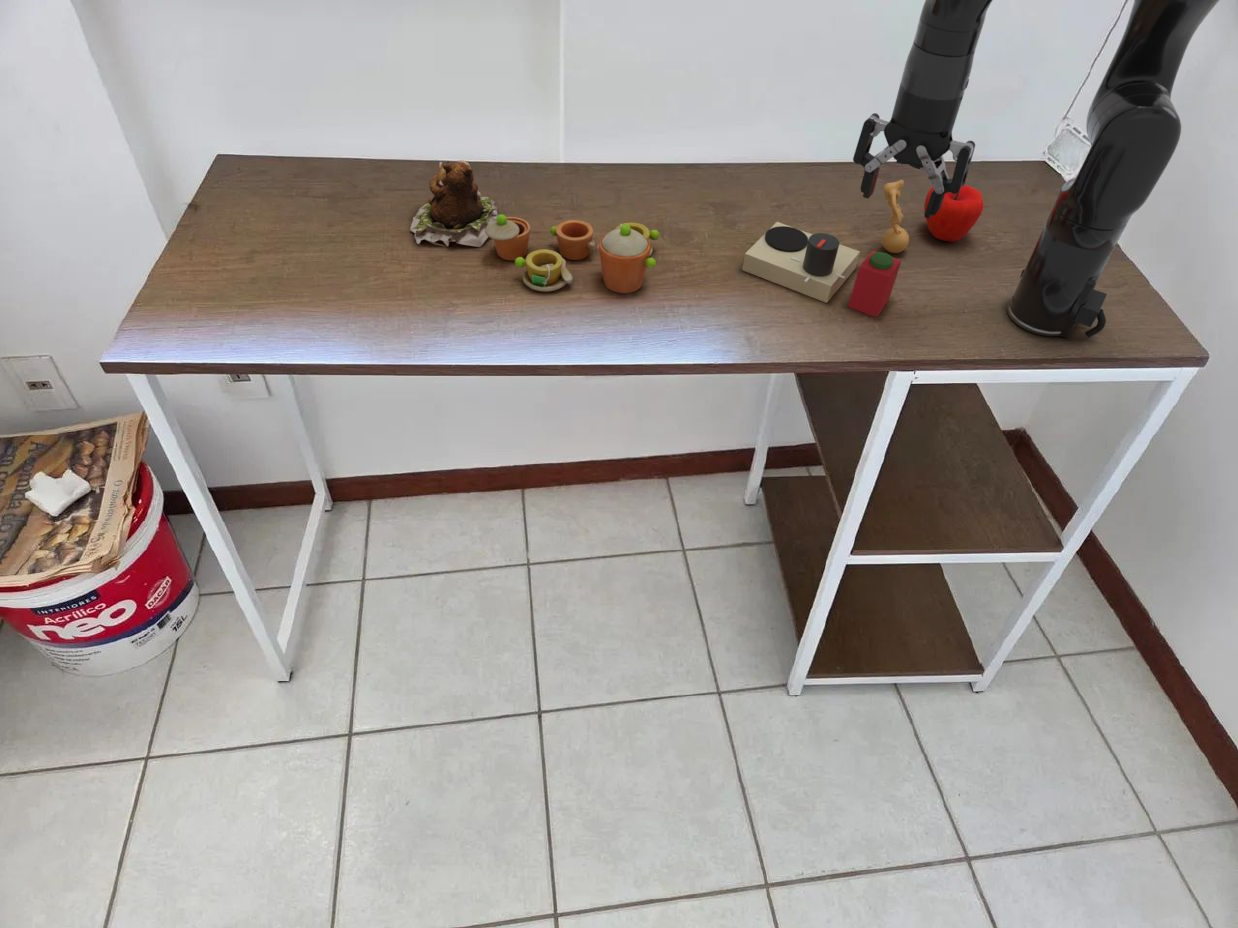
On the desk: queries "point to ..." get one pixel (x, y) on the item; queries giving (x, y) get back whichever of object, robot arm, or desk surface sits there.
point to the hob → (798, 268)
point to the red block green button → (874, 283)
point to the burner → (786, 239)
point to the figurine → (895, 236)
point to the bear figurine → (454, 208)
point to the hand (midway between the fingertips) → (898, 205)
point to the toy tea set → (576, 252)
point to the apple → (955, 214)
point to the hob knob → (820, 254)
